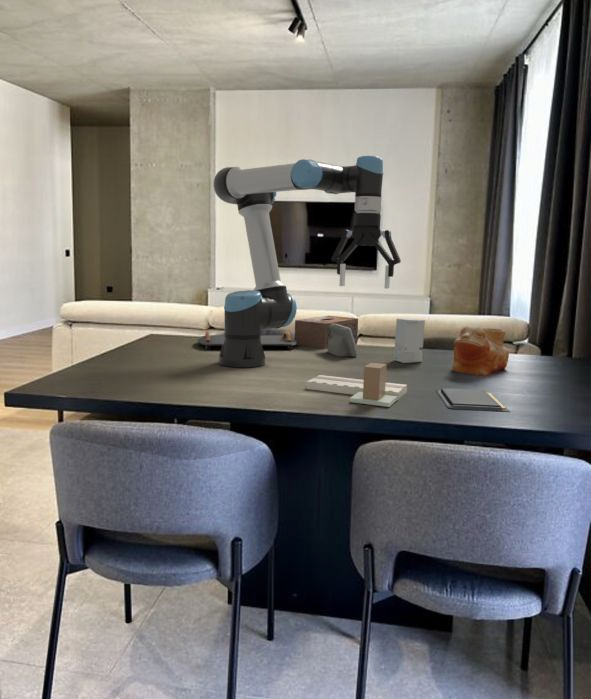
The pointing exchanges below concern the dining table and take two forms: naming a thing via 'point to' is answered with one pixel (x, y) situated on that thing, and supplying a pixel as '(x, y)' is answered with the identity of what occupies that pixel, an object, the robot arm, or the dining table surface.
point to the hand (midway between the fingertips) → (364, 287)
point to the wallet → (470, 400)
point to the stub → (374, 387)
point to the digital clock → (342, 341)
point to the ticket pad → (350, 386)
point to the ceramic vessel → (480, 351)
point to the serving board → (265, 339)
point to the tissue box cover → (321, 330)
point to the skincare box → (409, 340)
